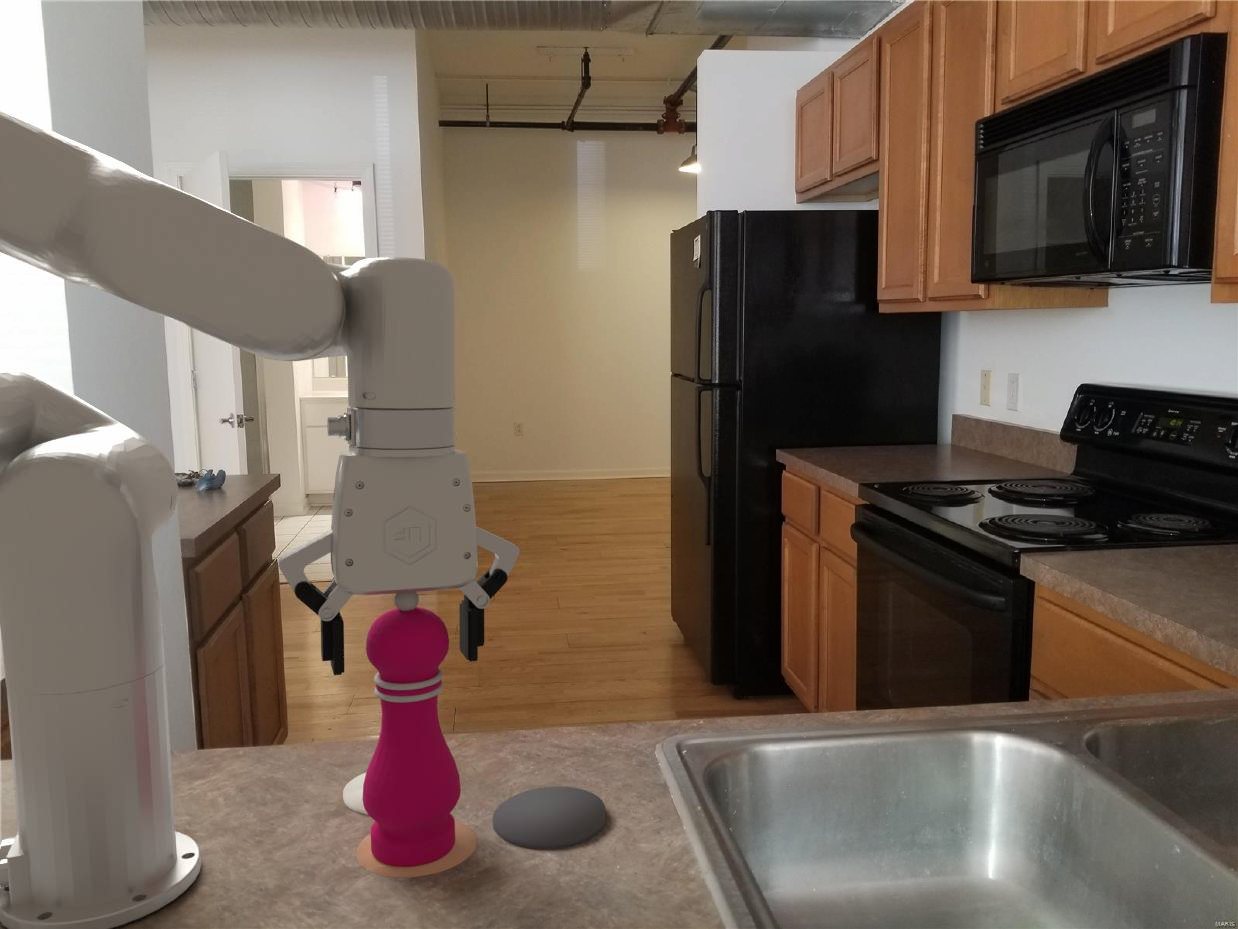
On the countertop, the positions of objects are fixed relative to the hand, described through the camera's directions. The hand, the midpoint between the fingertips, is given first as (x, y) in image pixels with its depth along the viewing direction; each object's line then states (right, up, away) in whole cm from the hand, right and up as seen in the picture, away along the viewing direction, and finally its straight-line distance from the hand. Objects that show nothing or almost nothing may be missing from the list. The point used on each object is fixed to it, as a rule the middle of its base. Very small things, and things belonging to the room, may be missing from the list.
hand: (404, 662), depth 71 cm
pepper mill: (0, -14, +2) cm, 15 cm away
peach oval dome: (+1, -15, +2) cm, 15 cm away
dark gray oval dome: (+10, -14, +6) cm, 18 cm away
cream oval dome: (-3, -14, +11) cm, 18 cm away
